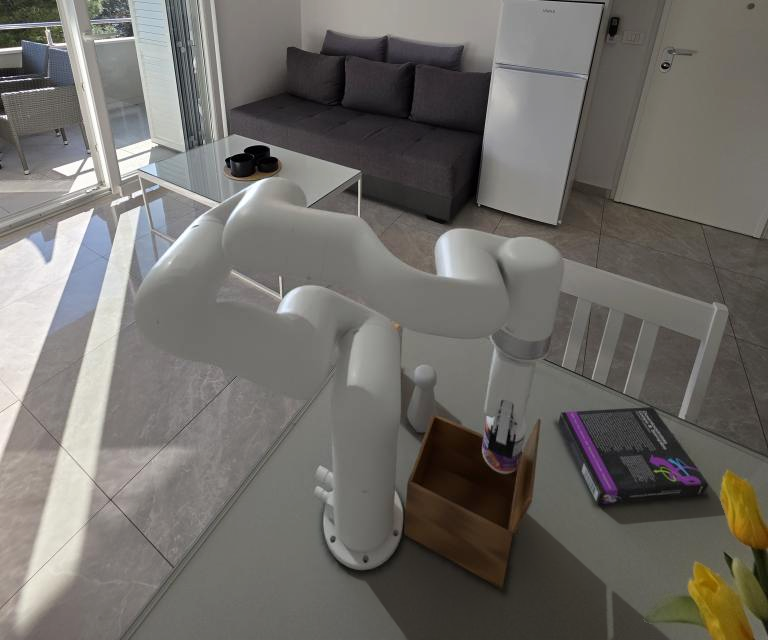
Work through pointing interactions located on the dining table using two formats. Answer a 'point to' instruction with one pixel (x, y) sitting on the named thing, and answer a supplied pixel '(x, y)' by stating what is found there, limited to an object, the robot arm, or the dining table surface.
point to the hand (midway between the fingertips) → (503, 431)
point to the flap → (526, 476)
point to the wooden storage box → (461, 501)
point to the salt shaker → (423, 398)
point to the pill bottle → (501, 462)
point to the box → (630, 455)
